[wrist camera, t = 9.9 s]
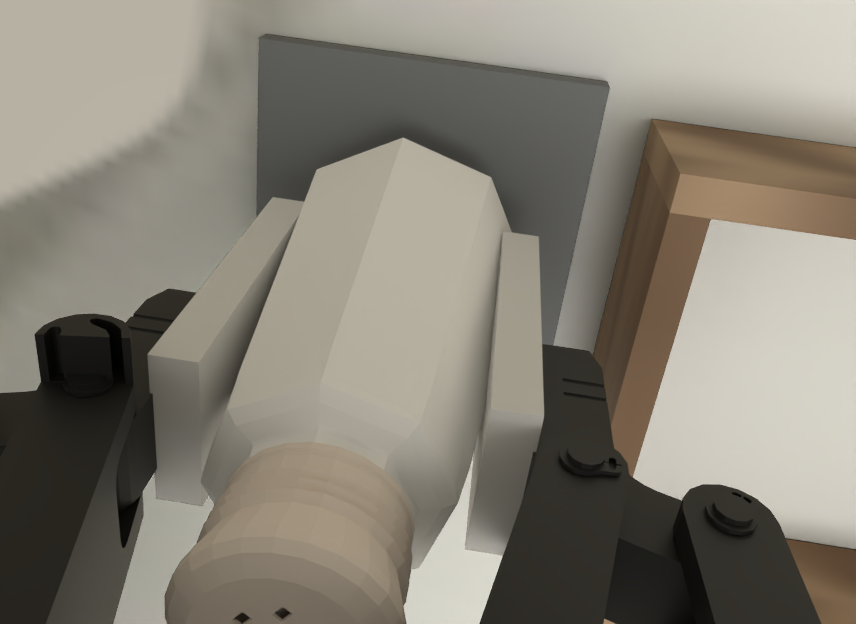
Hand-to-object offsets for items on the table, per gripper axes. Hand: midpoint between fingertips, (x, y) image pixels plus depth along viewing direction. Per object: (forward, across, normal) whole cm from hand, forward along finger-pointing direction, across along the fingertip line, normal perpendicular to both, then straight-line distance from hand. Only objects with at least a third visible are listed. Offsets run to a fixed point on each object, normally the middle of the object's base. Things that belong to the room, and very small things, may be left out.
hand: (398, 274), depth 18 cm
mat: (+3, 0, 0) cm, 3 cm away
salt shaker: (+1, 0, 0) cm, 1 cm away
